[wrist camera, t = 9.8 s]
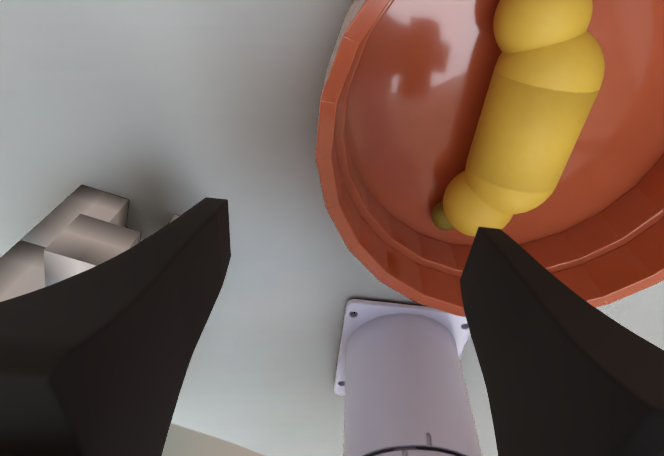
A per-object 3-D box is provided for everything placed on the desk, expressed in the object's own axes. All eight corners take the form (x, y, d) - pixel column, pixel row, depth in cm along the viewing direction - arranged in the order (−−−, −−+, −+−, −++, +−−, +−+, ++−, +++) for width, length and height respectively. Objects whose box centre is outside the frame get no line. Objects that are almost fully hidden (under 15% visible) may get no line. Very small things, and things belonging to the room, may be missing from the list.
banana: (510, 227, 22) (535, 274, 19) (426, 218, 22) (437, 263, 19) (620, -46, 15) (686, -42, 12) (499, -60, 15) (535, -59, 12)
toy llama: (227, 192, 23) (-121, 880, 6) (178, 379, 32) (-9, 844, 16) (82, 144, 21) (-826, 834, 5) (76, 353, 31) (-242, 825, 15)
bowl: (607, 269, 24) (658, 337, 20) (313, 238, 24) (304, 300, 20) (832, -103, 15) (1016, -118, 11) (347, -159, 14) (342, -197, 10)
